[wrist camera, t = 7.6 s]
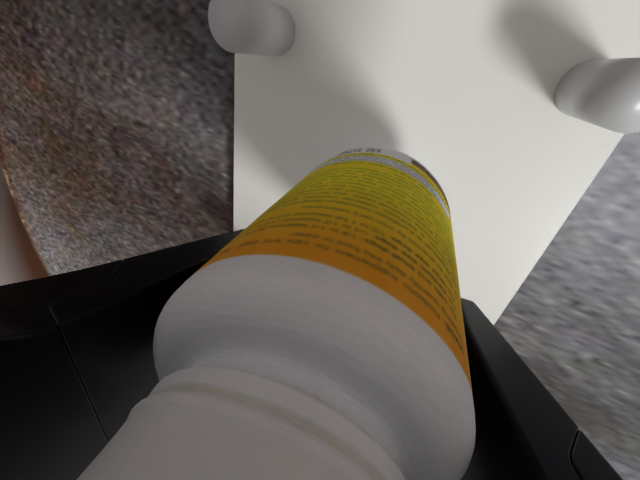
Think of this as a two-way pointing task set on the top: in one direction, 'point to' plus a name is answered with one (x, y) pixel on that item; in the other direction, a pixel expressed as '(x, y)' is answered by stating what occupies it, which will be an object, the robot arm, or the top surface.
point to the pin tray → (439, 108)
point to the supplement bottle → (314, 342)
